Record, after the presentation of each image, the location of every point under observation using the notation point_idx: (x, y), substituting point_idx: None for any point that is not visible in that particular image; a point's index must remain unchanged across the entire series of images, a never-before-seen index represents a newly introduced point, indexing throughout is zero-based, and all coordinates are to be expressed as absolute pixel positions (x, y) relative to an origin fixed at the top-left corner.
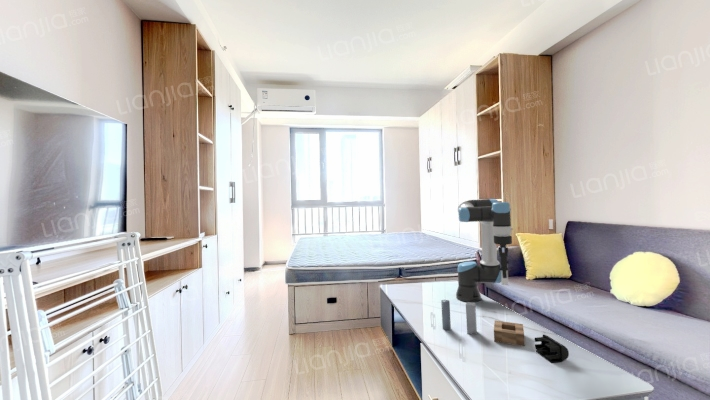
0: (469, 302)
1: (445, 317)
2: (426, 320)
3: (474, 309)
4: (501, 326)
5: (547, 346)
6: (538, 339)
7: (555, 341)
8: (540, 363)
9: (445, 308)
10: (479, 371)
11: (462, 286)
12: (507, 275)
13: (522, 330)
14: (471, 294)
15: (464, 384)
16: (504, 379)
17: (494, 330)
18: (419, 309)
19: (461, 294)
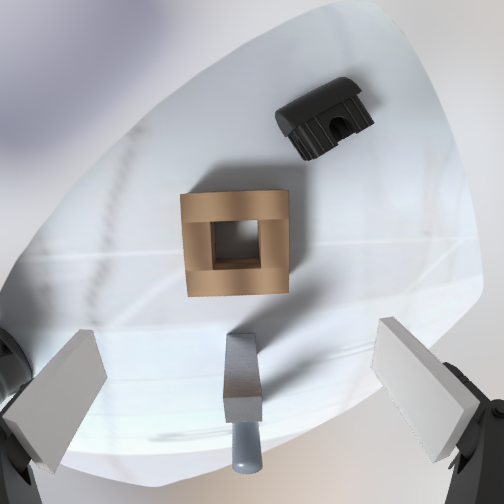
0: (227, 414)
1: (258, 428)
2: (213, 443)
3: (260, 386)
4: (239, 270)
5: (364, 128)
6: (331, 147)
7: (338, 98)
8: (369, 158)
9: (260, 449)
10: (436, 292)
11: (4, 393)
12: (443, 371)
13: (248, 195)
14: (8, 361)
15: (469, 307)
16: (450, 243)
17: (287, 290)
18: (152, 459)
19: (21, 384)
